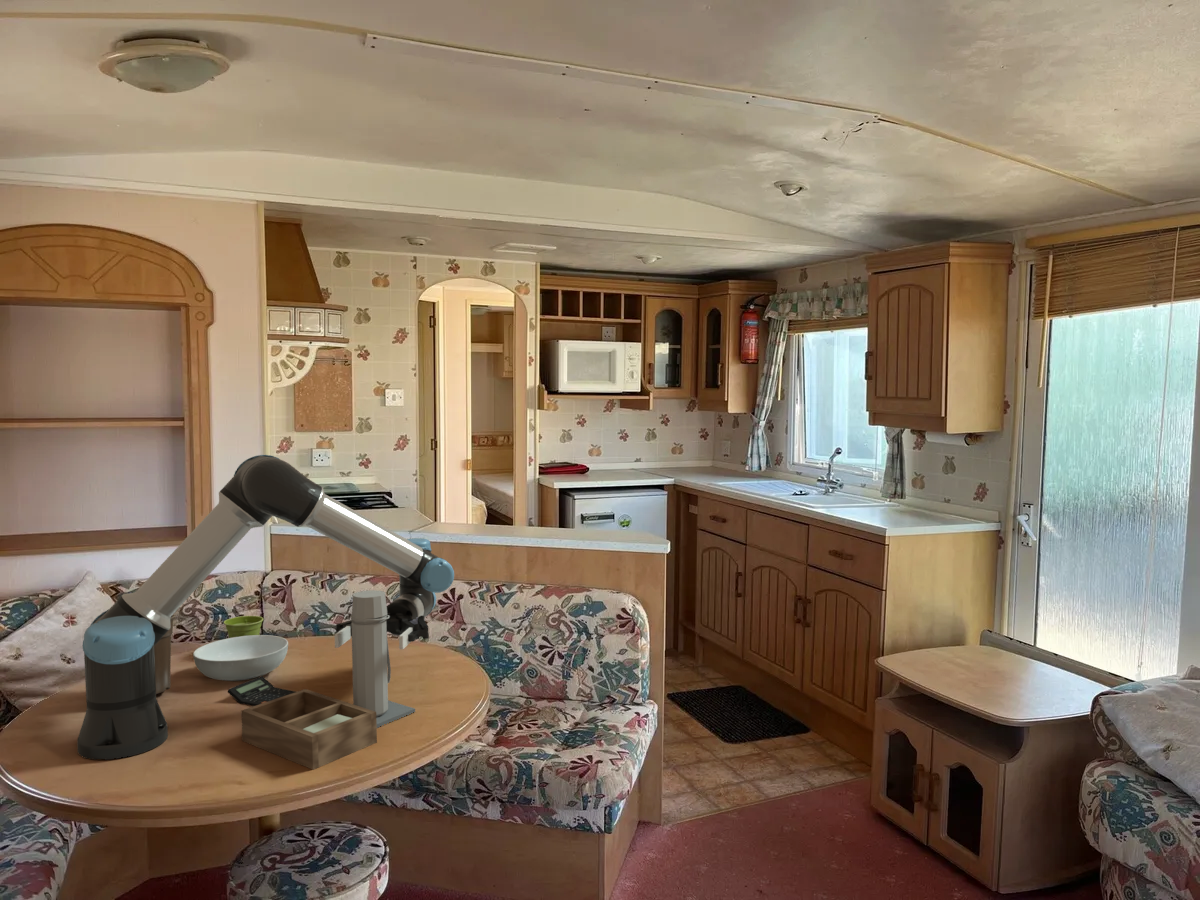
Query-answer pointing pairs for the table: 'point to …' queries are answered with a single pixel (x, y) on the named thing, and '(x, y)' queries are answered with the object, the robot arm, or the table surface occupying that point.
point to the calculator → (257, 692)
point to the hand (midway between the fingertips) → (368, 642)
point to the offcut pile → (327, 723)
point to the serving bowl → (241, 657)
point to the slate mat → (393, 713)
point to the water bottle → (370, 651)
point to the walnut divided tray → (287, 717)
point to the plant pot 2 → (243, 626)
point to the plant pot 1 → (163, 660)
